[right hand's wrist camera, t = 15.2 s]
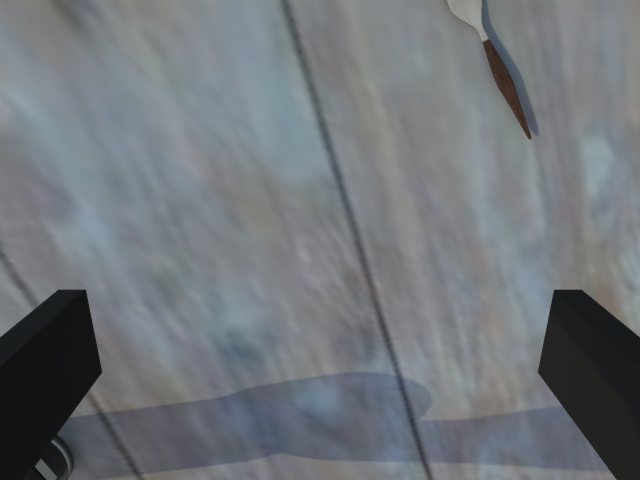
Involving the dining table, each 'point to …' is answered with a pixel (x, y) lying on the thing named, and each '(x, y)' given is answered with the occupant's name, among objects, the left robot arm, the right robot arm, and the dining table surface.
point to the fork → (490, 55)
